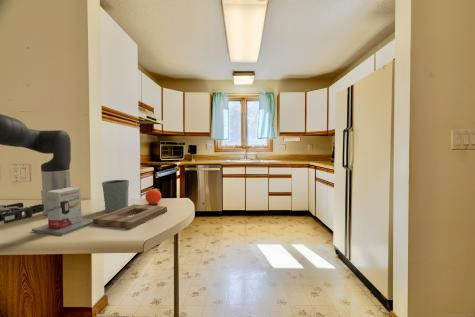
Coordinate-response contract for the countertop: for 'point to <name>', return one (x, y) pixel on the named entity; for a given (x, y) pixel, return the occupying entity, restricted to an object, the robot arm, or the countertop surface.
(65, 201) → the ink box
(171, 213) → the countertop surface
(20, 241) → the countertop surface
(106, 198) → the grey cup
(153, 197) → the clementine
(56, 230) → the slate tile
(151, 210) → the frame
